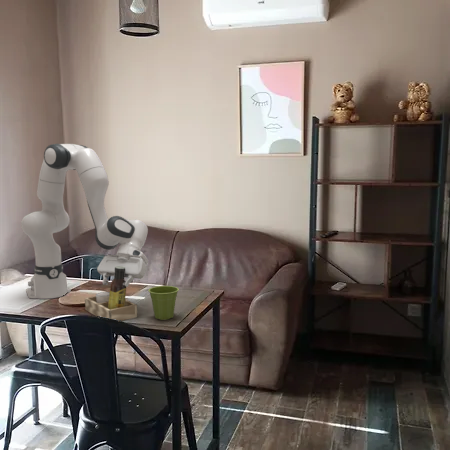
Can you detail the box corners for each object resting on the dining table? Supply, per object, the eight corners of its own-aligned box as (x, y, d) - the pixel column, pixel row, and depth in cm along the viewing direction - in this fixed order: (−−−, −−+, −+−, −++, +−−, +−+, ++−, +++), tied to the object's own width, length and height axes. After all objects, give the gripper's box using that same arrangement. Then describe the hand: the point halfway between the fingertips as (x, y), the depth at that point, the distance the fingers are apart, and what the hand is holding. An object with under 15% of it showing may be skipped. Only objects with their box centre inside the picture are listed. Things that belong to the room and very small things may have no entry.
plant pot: (185, 318, 196) (184, 290, 195) (157, 324, 189) (157, 295, 188) (170, 310, 206) (169, 283, 204) (143, 316, 199) (142, 288, 197)
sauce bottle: (119, 320, 195) (123, 270, 191) (104, 316, 196) (108, 267, 192) (126, 314, 201) (130, 266, 197) (112, 311, 202) (116, 264, 199)
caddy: (85, 309, 208) (84, 298, 207) (112, 304, 215) (111, 293, 214) (109, 323, 191) (108, 310, 190) (137, 317, 198) (137, 304, 197)
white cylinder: (109, 313, 203) (108, 296, 202) (93, 312, 204) (92, 295, 203) (116, 308, 210) (115, 292, 209) (101, 307, 211) (100, 291, 210)
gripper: (102, 249, 205) (88, 278, 198) (146, 252, 198) (133, 283, 190) (109, 258, 210) (95, 286, 202) (152, 261, 203) (140, 291, 195)
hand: (114, 285), depth 196 cm, fingers open, 8 cm apart
